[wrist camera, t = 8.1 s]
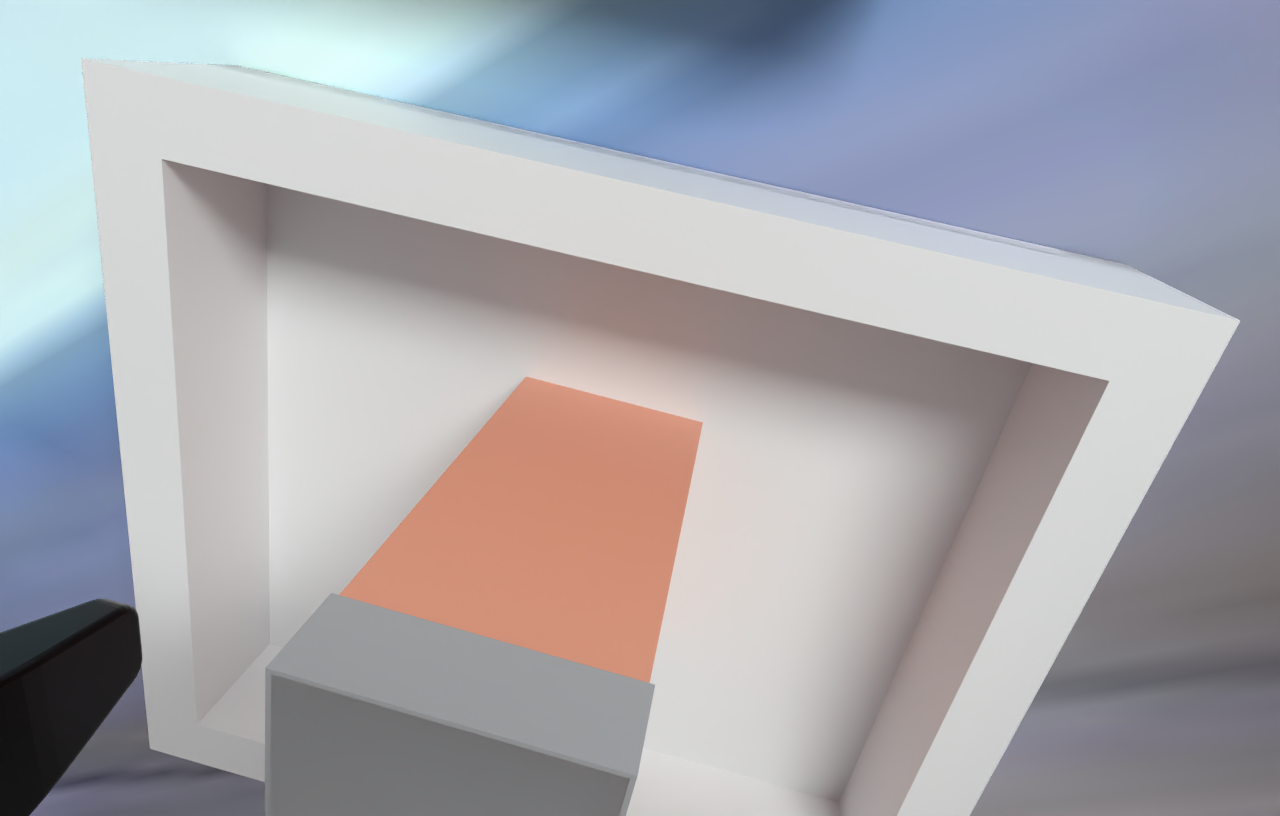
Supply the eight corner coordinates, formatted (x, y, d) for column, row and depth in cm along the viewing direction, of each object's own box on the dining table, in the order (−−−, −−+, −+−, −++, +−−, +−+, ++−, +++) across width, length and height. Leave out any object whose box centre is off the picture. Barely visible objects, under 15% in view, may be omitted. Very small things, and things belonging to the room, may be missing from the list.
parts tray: (1125, 264, 11) (1240, 320, 8) (868, 815, 16) (888, 964, 13) (237, 65, 12) (80, 57, 9) (250, 642, 17) (149, 748, 14)
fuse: (706, 420, 12) (637, 777, 6) (646, 638, 14) (545, 1085, 8) (523, 372, 12) (265, 667, 6) (488, 593, 14) (263, 995, 8)
